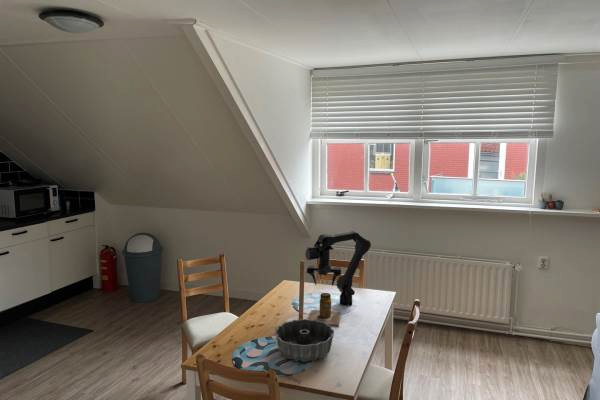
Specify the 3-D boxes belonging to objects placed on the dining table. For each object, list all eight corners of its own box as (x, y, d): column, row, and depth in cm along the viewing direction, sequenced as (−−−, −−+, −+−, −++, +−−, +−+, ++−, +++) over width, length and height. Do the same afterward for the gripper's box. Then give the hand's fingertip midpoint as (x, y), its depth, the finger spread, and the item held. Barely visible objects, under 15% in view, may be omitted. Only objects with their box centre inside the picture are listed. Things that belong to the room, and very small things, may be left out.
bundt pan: (262, 351, 197) (262, 330, 195) (304, 333, 215) (304, 313, 213) (304, 375, 178) (304, 352, 177) (346, 352, 196) (346, 331, 195)
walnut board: (340, 314, 237) (341, 311, 237) (338, 326, 222) (338, 324, 222) (311, 311, 240) (311, 309, 240) (307, 324, 224) (307, 322, 224)
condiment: (333, 314, 234) (333, 292, 232) (329, 321, 226) (330, 298, 224) (319, 312, 236) (319, 291, 234) (316, 319, 228) (316, 297, 226)
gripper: (305, 261, 235) (305, 289, 237) (340, 263, 232) (339, 291, 234) (308, 255, 246) (308, 282, 248) (342, 257, 243) (341, 284, 245)
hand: (324, 285), depth 244 cm, fingers open, 9 cm apart
